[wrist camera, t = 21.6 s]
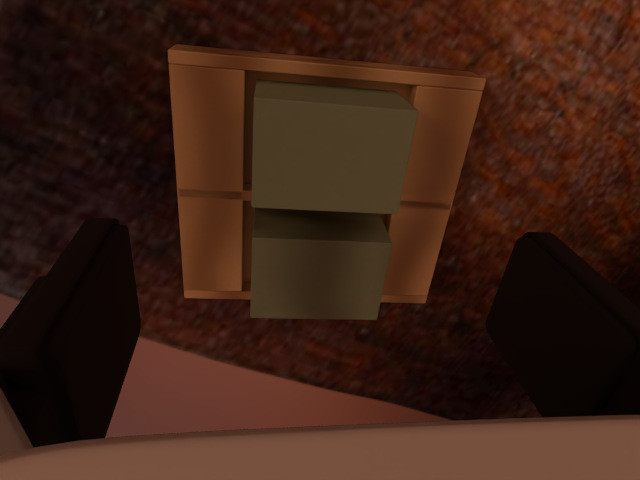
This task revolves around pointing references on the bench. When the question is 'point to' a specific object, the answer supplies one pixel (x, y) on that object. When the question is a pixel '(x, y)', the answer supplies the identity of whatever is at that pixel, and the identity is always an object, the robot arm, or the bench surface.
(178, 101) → the frame
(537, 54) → the bench surface
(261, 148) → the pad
